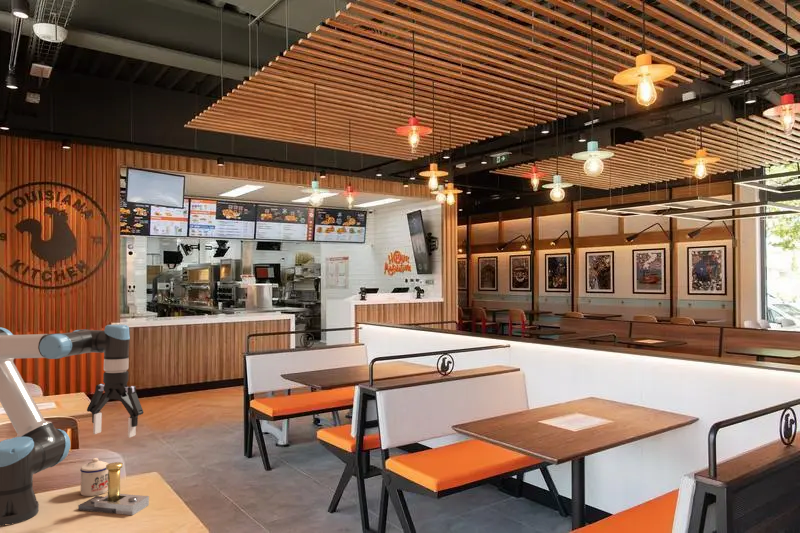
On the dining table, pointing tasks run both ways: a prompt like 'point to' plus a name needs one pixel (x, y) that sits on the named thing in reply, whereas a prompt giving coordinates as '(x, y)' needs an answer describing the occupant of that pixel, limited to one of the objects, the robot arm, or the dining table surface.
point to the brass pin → (114, 481)
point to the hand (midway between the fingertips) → (114, 434)
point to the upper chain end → (124, 504)
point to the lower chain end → (90, 507)
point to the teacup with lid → (94, 478)
